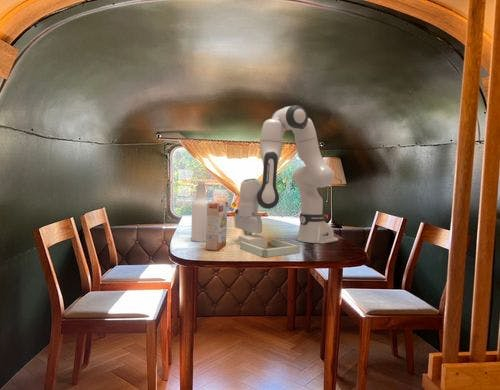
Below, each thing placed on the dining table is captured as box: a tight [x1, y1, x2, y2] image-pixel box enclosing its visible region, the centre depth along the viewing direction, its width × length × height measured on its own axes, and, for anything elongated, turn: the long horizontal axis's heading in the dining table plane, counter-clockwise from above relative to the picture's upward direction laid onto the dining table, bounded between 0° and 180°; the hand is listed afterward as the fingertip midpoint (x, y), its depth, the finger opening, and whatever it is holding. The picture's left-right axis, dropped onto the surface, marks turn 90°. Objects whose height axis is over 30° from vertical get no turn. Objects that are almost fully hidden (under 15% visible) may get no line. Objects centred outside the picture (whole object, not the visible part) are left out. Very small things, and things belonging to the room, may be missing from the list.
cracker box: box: [205, 200, 229, 252], centre depth 155 cm, size 14×6×21 cm, turn 168°
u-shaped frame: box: [239, 238, 301, 259], centre depth 152 cm, size 19×19×3 cm
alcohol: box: [190, 180, 210, 243], centre depth 170 cm, size 9×9×30 cm
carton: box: [237, 234, 269, 249], centre depth 161 cm, size 10×10×5 cm
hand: (247, 239), depth 168 cm, fingers closed
